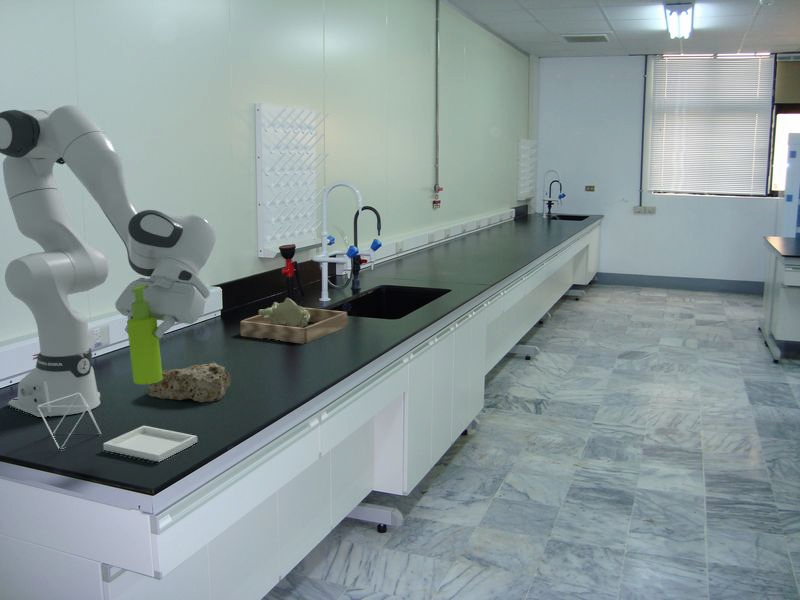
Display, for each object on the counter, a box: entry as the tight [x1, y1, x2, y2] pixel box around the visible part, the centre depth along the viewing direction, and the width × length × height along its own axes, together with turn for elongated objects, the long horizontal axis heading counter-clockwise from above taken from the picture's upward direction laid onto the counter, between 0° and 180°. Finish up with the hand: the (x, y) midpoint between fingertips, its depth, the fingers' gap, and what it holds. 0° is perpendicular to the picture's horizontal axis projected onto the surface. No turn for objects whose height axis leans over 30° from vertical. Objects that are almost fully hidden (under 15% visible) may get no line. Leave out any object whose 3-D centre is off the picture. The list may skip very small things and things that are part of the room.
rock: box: [146, 362, 232, 403], centre depth 200 cm, size 21×14×10 cm
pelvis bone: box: [258, 297, 310, 328], centre depth 273 cm, size 20×14×15 cm
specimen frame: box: [240, 307, 348, 345], centre depth 272 cm, size 26×30×5 cm
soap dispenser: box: [126, 285, 163, 385], centre depth 160 cm, size 6×7×20 cm
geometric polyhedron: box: [37, 393, 102, 450], centre depth 168 cm, size 12×11×9 cm
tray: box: [103, 425, 198, 462], centre depth 164 cm, size 15×12×2 cm
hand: (142, 334), depth 159 cm, fingers closed on soap dispenser, 6 cm apart
